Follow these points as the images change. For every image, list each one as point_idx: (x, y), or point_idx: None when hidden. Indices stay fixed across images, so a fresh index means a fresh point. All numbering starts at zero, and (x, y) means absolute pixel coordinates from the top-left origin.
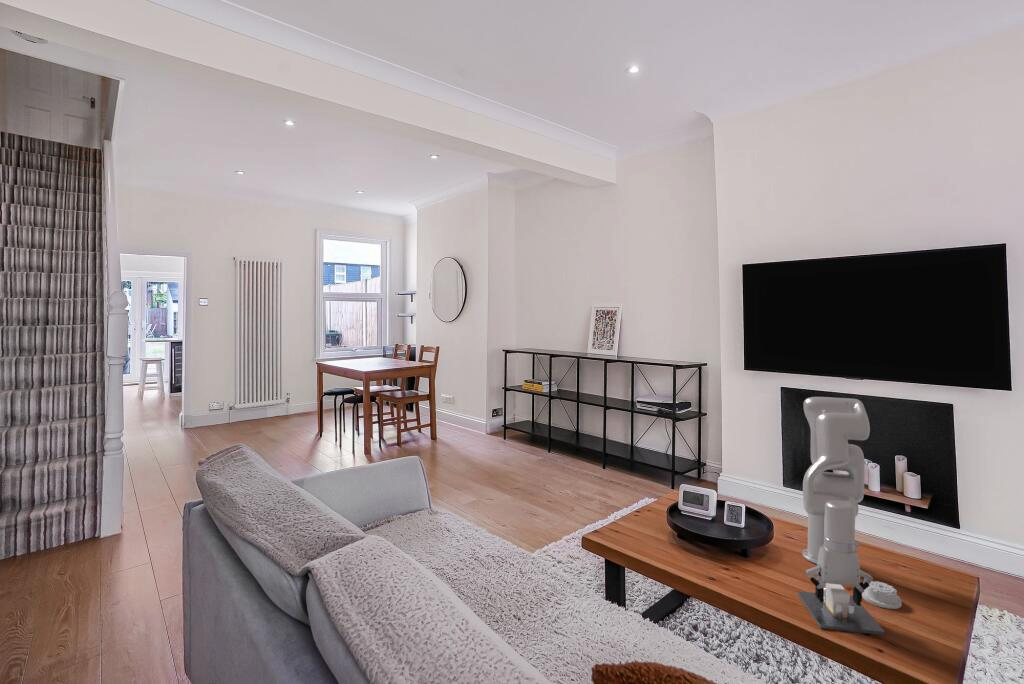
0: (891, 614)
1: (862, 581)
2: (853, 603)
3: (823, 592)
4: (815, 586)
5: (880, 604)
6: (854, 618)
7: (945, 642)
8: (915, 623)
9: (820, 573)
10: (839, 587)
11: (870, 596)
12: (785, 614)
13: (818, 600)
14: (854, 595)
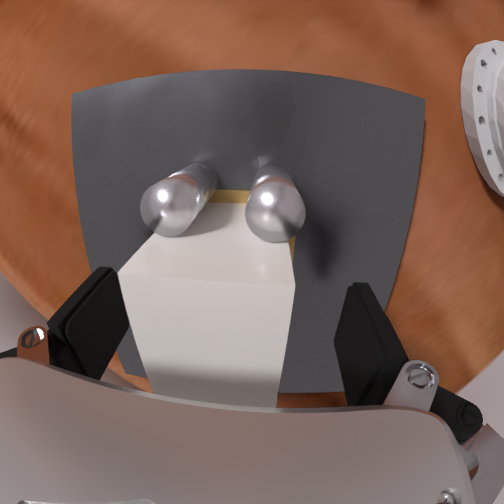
0: (483, 241)
1: (454, 433)
2: (375, 188)
3: (101, 374)
4: (48, 330)
5: (493, 184)
6: None
7: (477, 362)
8: (499, 290)
9: (5, 367)
10: (240, 353)
11: (493, 126)
12: (37, 290)
13: (150, 181)
14: (355, 337)
